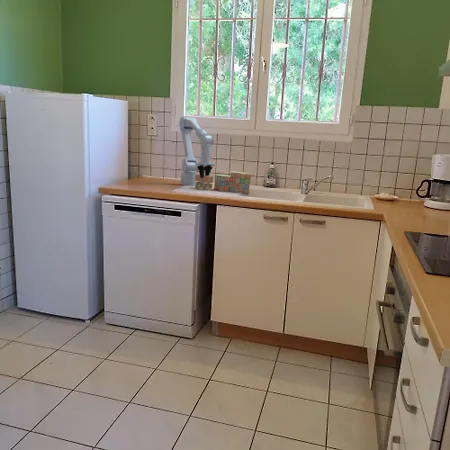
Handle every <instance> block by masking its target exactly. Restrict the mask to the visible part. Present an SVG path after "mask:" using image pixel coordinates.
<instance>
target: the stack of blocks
mask: <svg viewBox="0 0 450 450" xmlns="http://www.w3.org/2000/svg"><path fill="white" fill-rule="evenodd" d="M214 177H215V178H214V179H215V180H214V187H213V191H219V192H230V193H239V194H245V195H249V193H250V185H251V178H252V173H247V172H242V171H239V172H238V171H234V170H233V171H232V170H231V171H230V175H227V174H226V175H225V174H215V176H214Z"/></svg>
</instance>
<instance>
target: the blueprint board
mask: <svg viewBox="0 0 450 450" xmlns="http://www.w3.org/2000/svg"><path fill="white" fill-rule="evenodd" d="M193 188H195V186H193ZM180 189H182V190H186V191H191V192H198V190H196V188H195V189H191V188H187V187H180ZM197 189H201V190H203V191H204V189H203V188H197Z"/></svg>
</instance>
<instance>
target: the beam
mask: <svg viewBox="0 0 450 450" xmlns="http://www.w3.org/2000/svg"><path fill="white" fill-rule="evenodd" d="M213 181H214V176H211V175H209V176H207V175H205V174H204V177H203V178H200V173H196V174H195V182H204V183H209V184H213Z"/></svg>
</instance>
